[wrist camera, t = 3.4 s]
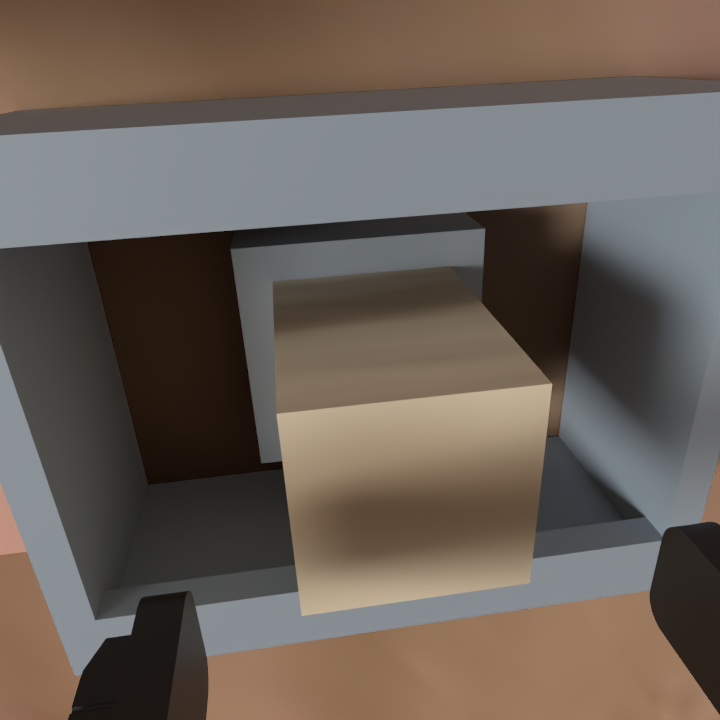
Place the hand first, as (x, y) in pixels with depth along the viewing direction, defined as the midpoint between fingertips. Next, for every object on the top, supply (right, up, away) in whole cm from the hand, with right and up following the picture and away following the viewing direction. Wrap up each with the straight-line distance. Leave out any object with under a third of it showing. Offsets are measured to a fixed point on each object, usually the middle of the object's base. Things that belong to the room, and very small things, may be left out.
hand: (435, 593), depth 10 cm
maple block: (-1, +4, +8) cm, 9 cm away
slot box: (-2, +5, +11) cm, 12 cm away
